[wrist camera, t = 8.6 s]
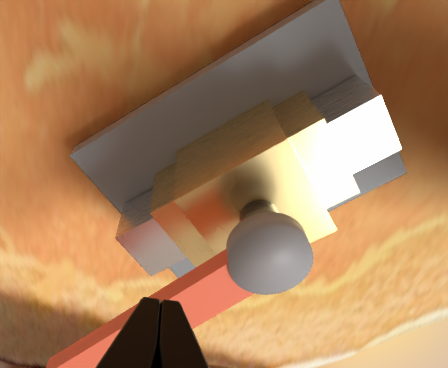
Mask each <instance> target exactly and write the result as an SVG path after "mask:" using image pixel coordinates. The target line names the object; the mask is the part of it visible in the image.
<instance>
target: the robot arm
mask: <svg viewBox="0 0 448 368" xmlns="http://www.w3.org/2000/svg"><path fill="white" fill-rule="evenodd" d="M95 368H209V365H208V363H207V361H206V359H205V356H204V354H203V352H202V350H201V348H200V345H199V343H198V341H197V339H196V336H195V334H194V332H193V330H192V328H191V325H190V323H189V321H188V319H187V316H186V314H185V312H184V310H183V308H182V305H181V303H180V302H179V301H174V300H166V299H164V300H162V301H160V299H157V298H149V297H143V298H142V299H141V300H140V301H139V303H138V304H137V306H136V307H135V309H134V310H133V312H132V313H131V315H130V316H129V318H128V319H127V321H126V322H125V324H124V325H123V327H122V328H121V330H120V331H119V333H118V334H117V336H116V337H115V339H114V340H113V342H112V343H111V345H110V346H109V348H108V349H107V351H106V352H105V354H104V355H103V357H102V358H101V360H100V361H99V363H98V364H97V366H96V367H95Z"/></svg>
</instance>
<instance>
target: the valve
mask: <svg viewBox="0 0 448 368" xmlns="http://www.w3.org/2000/svg"><path fill="white" fill-rule="evenodd" d="M401 149H402V147H401V144H400V142H399V139H398V137H397V134H396V132H395V129H394V126H393V124H392V121H391V119H390V116H389V114H388V111H387V108H386V106H385V103H384V101H383V98H382V96H381V94H380V93H378V92H377V91H376V90H375V89H373V88H372V87H371V86H370V85H369V84H367V83H366V82H365V81H364V80H362V79H361V78H360V77H359V76H357V75H355V76H354V77H352V78H350V79H348V80H346V81H345V82H343V83H341V84H339V85H338V86H336V87H334V88H332V89H330V90H329V91H327V92H325V93H323V94H321V95H320V96H318V97H316V98H314V99H312V100H310V99H309V97H308V96H307V95H306V93H305V92H304V91H303V90H302V91H301V92H299V93H297V94H295V95H293V96H292V97H290V98H288V99H286V100H285V101H283V102H281V103H279V104H278V105H276V106H274V107H272V106H271V104H270V102H269V101H268V99H266V100H264V101H263V102H261V103H259V104H257V105H256V106H254V107H252V108H250V109H249V110H247V111H245V112H243V113H242V114H240V115H238V116H236V117H235V118H233V119H231V120H229V121H228V122H226V123H224V124H222V125H221V126H219V127H217V128H215V129H214V130H212V131H210V132H208V133H207V134H205V135H203V136H201V137H200V138H198V139H196V140H194V141H193V142H191V143H189V144H187V145H186V146H184V147H182V148H180V149H179V150H177V155H176V162H175V163H173V164H171V165H170V166H168V167H166V168H164V169H163V170H161V171H159V172H157V173H155V180H154V187H153V189H151V190H149V191H147V192H146V193H144V194H142V195H140V196H138V197H137V198H135V199H133V200H131V201H129V202H128V203H126V204H124V205H123V209H122V213H121V217H120V221H119V225H118V229H117V233H116V237H115V239H116V240H117V241H118V242H119V243H120V244H121V245H122V246H123V247H124V248H125V249H126V250H127V251H128V253H129V254H130V255H131V256H132V257H133V258H134V259H135V260H136V261H137V262H138V263H139V264H140V265H141V266H142V267H143V268H144V270H145V271H146V272H147V273H148V274H149V275H150V276H152V275H154V274H156V273H158V272H160V271H162V270H164V269H166V268H168V267H170V266H172V265H174V264H176V263H178V262H180V261H182V260H184V259H186V258H188V259H189V260H190V261H191V263H192V264H193V265H194V266H195V267H198V266H199V265H201V264H202V263H204V262H206V261H207V260H209V259H211V258H212V257H214V256H215V255H217V254H219V253H220V252H222V251H223V250H225V249H226V243H227V239H228V237H229V234H230V233H231V231H232V230H233V229H234V227H235V226H236V225H237V224H238V223H240V222H241V221H242V220H244V219H246V218H248V217H250V216H252V215H255V214H258V213H263V212H278V213H283V214H286V215H288V216H291V217H292V218H294V219H295V220H297V221H298V222H299V223H300V224H301V226H302V227H303V229H304V231H305V233H306V236H307V238H308V241H309V243H312V242H314V241H316V240H318V239H320V238H322V237H324V236H326V235H328V234H330V233H333V232H335V231H337V228H336V226H335V224H334V222H333V220H332V218H331V216H330V214H329V212H328V210H327V208H329V207H331V206H333V205H335V204H337V203H339V202H341V201H343V200H345V199H347V198H349V197H351V196H353V195H355V194H357V193H359V192H360V191H359V189H358V187H357V185H356V183H355V181H354V179H353V177H352V174H354V173H356V172H358V171H360V170H362V169H364V168H366V167H368V166H370V165H372V164H374V163H375V162H377V161H379V160H381V159H383V158H385V157H387V156H389V155H391V154H393V153H395V152H397V151H399V150H401Z"/></svg>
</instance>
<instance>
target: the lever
mask: <svg viewBox="0 0 448 368" xmlns="http://www.w3.org/2000/svg"><path fill="white" fill-rule="evenodd" d="M312 264H313V252H312V248H311V246H310V243H309V241H308V238H307V236H306V233H305V231H304V229H303V227H302V226H301V224H300V223H299V222H298V221H297V220H295V219H294V218H292V217H291V216H288V215H286V214H283V213H278V212H263V213H258V214H255V215H252V216H250V217H248V218H246V219H244V220H242V221H241V222H240V223H238V224H237V225H236V226H235V227H234V229H233V230H232V231H231V233H230V234H229V237H228V239H227V243H226V249H225V250H223V251H222V252H220V253H219V254H217V255H215V256H214V257H212V258H211V259H209V260H207V261H206V262H204V263H202V264H201V265H199V266H198V267H196V268H194V269H193V270H191V271H190V272H188V273H186V274H185V275H183V276H182V277H180V278H178V279H177V280H175V281H173V282H172V283H170V284H169V285H167V286H165V287H164V288H162V289H161V290H159V291H157V292H156V293H154V294H153V295H151V296H149V298H157V299H160V301H162V300H164V299H166V300H174V301H179V302H180V303H181V305H182V308H183V310H184V312H185V314H186V316H187V319H188V321H189V323H190V325H191V328H192V329H193V328H195V327H197V326H198V325H200V324H202V323H203V322H205V321H207V320H209V319H210V318H212V317H214V316H216V315H217V314H219V313H221V312H223V311H224V310H226V309H228V308H230V307H231V306H233V305H235V304H236V303H238V302H240V301H242V300H243V299H245V298H247V297H249V296H250V295H252V294H254V293H255V294H262V295H268V294H276V293H281V292H284V291H287V290H289V289H291V288H293V287H295V286H296V285H298V284H299V283H300V282H301V281H302V280H303V279H304V278H305V277H306V276H307V275H308V273H309V272H310V270H311V267H312ZM136 306H137V304H136V305H135V306H133V307H132V308H130V309H128V310H127V311H125V312H124V313H122V314H120V315H119V316H117V317H116V318H114V319H112V320H111V321H109V322H107V323H106V324H104V325H103V326H101V327H99V328H98V329H96V330H95V331H93V332H91V333H90V334H88V335H87V336H85V337H83V338H82V339H80V340H78V341H77V342H75V343H74V344H72V345H70V346H69V347H67V348H66V349H64V350H62V351H61V352H59V353H58V354H56V355H54V356H53V357H51V358H50V359H49V361H48V364H47V367H46V368H95V367H96V366H97V364H98V363H99V361H100V360H101V358H102V357H103V355H104V354H105V352H106V351H107V349H108V348H109V346H110V345H111V343H112V342H113V340H114V339H115V337H116V336H117V334H118V333H119V331H120V330H121V328H122V327H123V325H124V324H125V322H126V321H127V319H128V318H129V316H130V315H131V313H132V312H133V310H134V309H135V307H136Z"/></svg>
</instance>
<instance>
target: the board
mask: <svg viewBox="0 0 448 368" xmlns="http://www.w3.org/2000/svg"><path fill="white" fill-rule="evenodd" d="M355 75H357V76H359V77H360V78H361V79H362V80H364V81H365V82H366V83H367V84H369V85H370V86H371V87H372V88H373V89H374V87H373V85H372V82H371V80H370V77H369V75H368V72H367V69H366V67H365V64H364V62H363V59H362V57H361V54H360V52H359V49H358V47H357V44H356V42H355V39H354V37H353V34H352V32H351V29H350V26H349V24H348V21H347V19H346V16H345V14H344V11H343V9H342V6H341V4H340V1H339V0H314V1H312V2H311V3H309V4H307V5H306V6H304V7H303V8H301V9H299V10H298V11H296V12H294V13H293V14H291V15H289V16H288V17H286V18H285V19H283V20H281V21H280V22H278V23H276V24H275V25H273V26H271V27H270V28H268V29H266V30H265V31H263V32H262V33H260V34H258V35H257V36H255V37H253V38H252V39H250V40H248V41H247V42H245V43H244V44H242V45H240V46H239V47H237V48H235V49H234V50H232V51H230V52H229V53H227V54H225V55H224V56H222V57H221V58H219V59H217V60H216V61H214V62H212V63H211V64H209V65H207V66H206V67H204V68H203V69H201V70H199V71H198V72H196V73H194V74H193V75H191V76H189V77H188V78H186V79H184V80H183V81H181V82H180V83H178V84H176V85H175V86H173V87H171V88H170V89H168V90H166V91H165V92H163V93H162V94H160V95H158V96H157V97H155V98H153V99H152V100H150V101H148V102H147V103H145V104H144V105H142V106H140V107H139V108H137V109H135V110H134V111H132V112H130V113H129V114H127V115H125V116H124V117H122V118H121V119H119V120H117V121H116V122H114V123H112V124H111V125H109V126H107V127H106V128H104V129H103V130H101V131H99V132H98V133H96V134H94V135H93V136H91V137H89V138H88V139H86V140H84V141H83V142H81V143H80V144H78V145H76V146H75V147H74V148H73V150H72V152H71V153H70V155H69V156H70V157H71V158H72V159H73V161H74V162H75V163H76V164H77V165H78V166H79V167H80V168H81V170H82V171H83V172H84V173H85V174H86V175H87V176H88V177H89V179H90V180H91V181H92V182H93V183H94V184H95V185H96V186H97V187H98V189H99V190H100V191H101V192H102V193H103V194H104V195H105V196H106V198H107V199H108V200H109V201H110V202H111V203H112V204H113V205H114V207H115V208H116V209H117V210H118V211H119V212H120V213H122V209H123V205H124V204H126V203H128V202H129V201H131V200H133V199H135V198H137V197H138V196H140V195H142V194H144V193H146V192H147V191H149V190H151V189H153V187H154V180H155V173H157V172H159V171H161V170H163V169H164V168H166V167H168V166H170V165H171V164H173V163H175V162H176V155H177V150H179V149H180V148H182V147H184V146H186V145H187V144H189V143H191V142H193V141H194V140H196V139H198V138H200V137H201V136H203V135H205V134H207V133H208V132H210V131H212V130H214V129H215V128H217V127H219V126H221V125H222V124H224V123H226V122H228V121H229V120H231V119H233V118H235V117H236V116H238V115H240V114H242V113H243V112H245V111H247V110H249V109H250V108H252V107H254V106H256V105H257V104H259V103H261V102H263V101H264V100H266V99H268V101H269V102H270V104H271V106H272V107H274V106H276V105H278V104H279V103H281V102H283V101H285V100H286V99H288V98H290V97H292V96H293V95H295V94H297V93H299V92H301V91H302V90H303V91H304V92H305V93H306V95H307V96H308V97H309V99H310V100H312V99H314V98H316V97H318V96H320V95H321V94H323V93H325V92H327V91H329V90H330V89H332V88H334V87H336V86H338V85H339V84H341V83H343V82H345V81H346V80H348V79H350V78H352V77H354V76H355ZM406 173H407V171H406V168H405V166H404V163H403V161H402V158H401V155H400V153H399V151H397V152H395V153H393V154H391V155H389V156H387V157H385V158H383V159H381V160H379V161H377V162H375V163H374V164H372V165H370V166H368V167H366V168H364V169H362V170H360V171H358V172H356V173H354V174H352V177H353V179H354V181H355V183H356V185H357V187H358V189H359V191H360V192H359V193H357V194H355V195H353V196H351V197H349V198H347V199H345V200H343V201H341V202H339V203H337V204H335V205H333V206H331V207H329V208H327V210H328V212H329V211H331V210H333V209H335V208H337V207H339V206H341V205H343V204H345V203H347V202H349V201H351V200H353V199H355V198H357V197H359V196H361V195H363V194H365V193H367V192H369V191H371V190H373V189H375V188H377V187H379V186H381V185H383V184H385V183H388V182H390V181H392V180H394V179H396V178H398V177H400V176H402V175H404V174H406ZM169 268H170V269H171V270H172V272H173V273H174V274H175V275H176V276H177V277H178V278H180V277H182V276H183V275H185V274H186V273H188V272H190V271H191V270H193V269H194V268H196V267H195V266H194V265H193V264H192V263H191V261H190V260H189V259H188V258H186V259H184V260H182V261H180V262H178V263H176V264H174V265H172V266H170V267H169Z"/></svg>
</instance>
